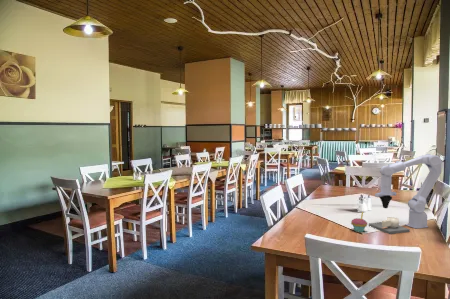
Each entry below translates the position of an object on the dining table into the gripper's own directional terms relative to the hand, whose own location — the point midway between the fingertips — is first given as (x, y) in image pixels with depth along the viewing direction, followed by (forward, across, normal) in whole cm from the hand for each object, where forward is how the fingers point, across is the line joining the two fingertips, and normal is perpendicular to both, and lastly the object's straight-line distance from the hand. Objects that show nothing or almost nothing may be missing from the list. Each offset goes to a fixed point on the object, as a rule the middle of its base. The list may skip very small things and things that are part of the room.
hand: (385, 207), depth 191 cm
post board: (+10, -4, -7) cm, 13 cm away
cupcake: (+11, -23, -4) cm, 26 cm away
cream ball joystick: (+8, -6, -9) cm, 13 cm away
